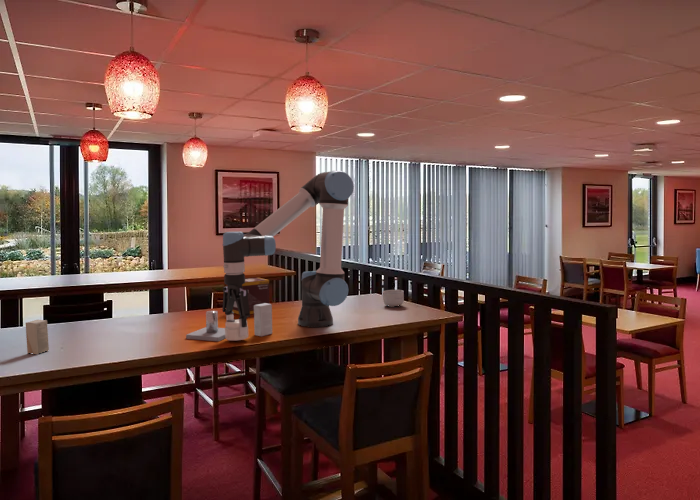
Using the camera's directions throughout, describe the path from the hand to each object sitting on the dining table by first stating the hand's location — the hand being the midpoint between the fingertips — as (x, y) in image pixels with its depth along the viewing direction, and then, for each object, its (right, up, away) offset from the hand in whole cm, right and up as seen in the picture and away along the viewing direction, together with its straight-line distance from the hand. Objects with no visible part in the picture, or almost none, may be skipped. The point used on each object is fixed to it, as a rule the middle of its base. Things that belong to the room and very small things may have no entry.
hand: (236, 333), depth 195 cm
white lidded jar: (0, -2, 0) cm, 2 cm away
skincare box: (+8, -2, +11) cm, 14 cm away
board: (-11, -2, +8) cm, 14 cm away
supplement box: (-5, +1, +56) cm, 56 cm away
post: (-11, -1, +8) cm, 14 cm away
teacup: (+65, +2, +72) cm, 97 cm away
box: (-65, -4, -16) cm, 67 cm away
